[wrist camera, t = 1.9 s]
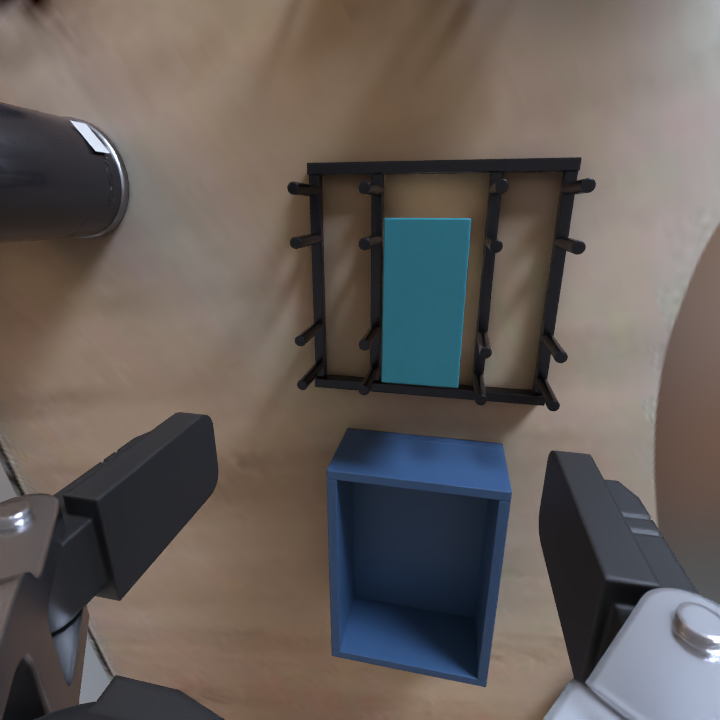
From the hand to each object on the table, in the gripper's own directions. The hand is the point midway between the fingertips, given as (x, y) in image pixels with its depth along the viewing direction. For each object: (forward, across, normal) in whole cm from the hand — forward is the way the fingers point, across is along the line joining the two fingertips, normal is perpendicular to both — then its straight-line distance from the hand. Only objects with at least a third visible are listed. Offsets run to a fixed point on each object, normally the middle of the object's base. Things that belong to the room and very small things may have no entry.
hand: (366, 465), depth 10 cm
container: (+26, 0, 0) cm, 26 cm away
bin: (+26, 0, +23) cm, 35 cm away
